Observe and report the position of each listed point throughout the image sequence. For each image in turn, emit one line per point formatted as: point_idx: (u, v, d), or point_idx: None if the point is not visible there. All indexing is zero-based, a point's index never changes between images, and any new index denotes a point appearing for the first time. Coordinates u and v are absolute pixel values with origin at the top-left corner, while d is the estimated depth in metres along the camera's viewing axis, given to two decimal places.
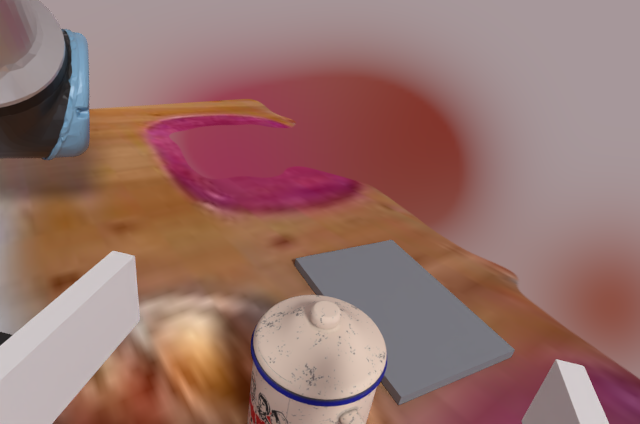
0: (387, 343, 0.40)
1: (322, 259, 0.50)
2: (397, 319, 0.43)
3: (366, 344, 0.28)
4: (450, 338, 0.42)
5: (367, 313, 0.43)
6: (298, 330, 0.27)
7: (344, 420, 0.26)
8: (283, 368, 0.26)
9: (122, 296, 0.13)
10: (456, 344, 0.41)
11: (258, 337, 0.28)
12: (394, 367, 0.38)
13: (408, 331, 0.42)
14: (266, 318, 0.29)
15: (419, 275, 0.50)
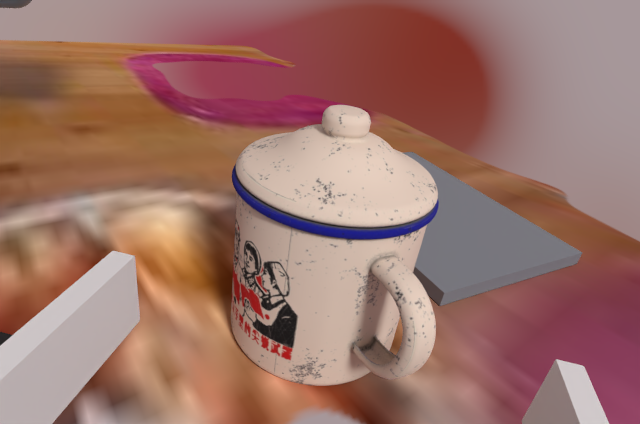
0: None
1: None
2: None
3: (408, 169, 0.18)
4: (498, 238, 0.32)
5: None
6: (304, 140, 0.17)
7: (379, 267, 0.16)
8: (281, 184, 0.16)
9: (122, 296, 0.13)
10: (507, 244, 0.32)
11: (243, 158, 0.18)
12: (430, 263, 0.28)
13: (444, 230, 0.32)
14: (256, 143, 0.19)
15: (449, 182, 0.41)
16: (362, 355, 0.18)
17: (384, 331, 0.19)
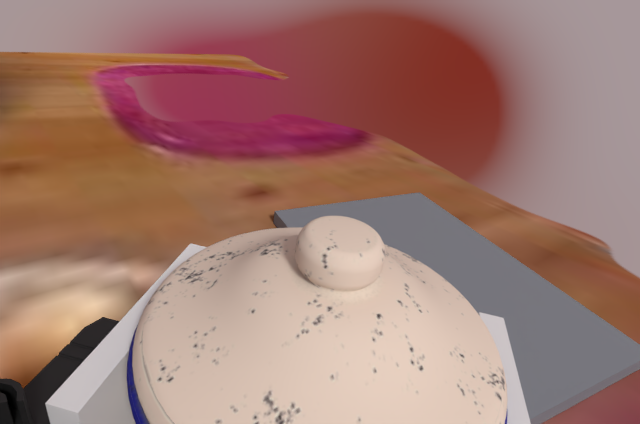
0: None
1: (316, 213, 0.33)
2: None
3: (453, 343, 0.10)
4: (537, 333, 0.24)
5: None
6: (258, 290, 0.09)
7: None
8: (193, 401, 0.08)
9: None
10: (551, 344, 0.23)
11: (153, 306, 0.10)
12: None
13: None
14: (191, 263, 0.11)
15: (466, 238, 0.32)
16: None
17: None
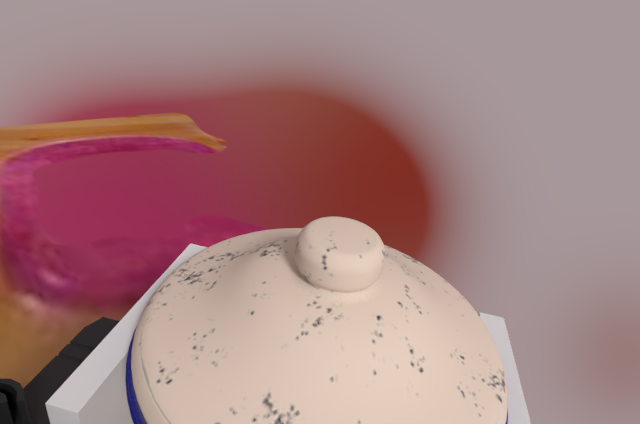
0: None
1: None
2: None
3: (453, 345, 0.10)
4: None
5: None
6: (257, 292, 0.09)
7: None
8: (191, 404, 0.08)
9: None
10: None
11: (152, 307, 0.10)
12: None
13: None
14: (190, 264, 0.11)
15: None
16: None
17: None
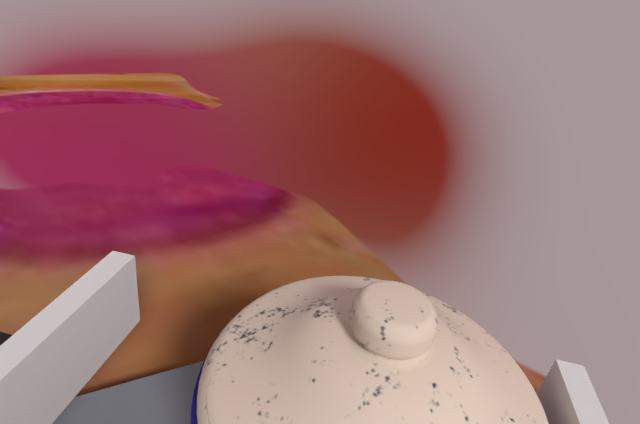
0: None
1: (112, 406, 0.19)
2: None
3: (502, 407, 0.10)
4: None
5: None
6: (316, 358, 0.10)
7: None
8: None
9: (122, 296, 0.13)
10: None
11: (212, 368, 0.11)
12: None
13: None
14: (243, 320, 0.12)
15: None
16: None
17: None
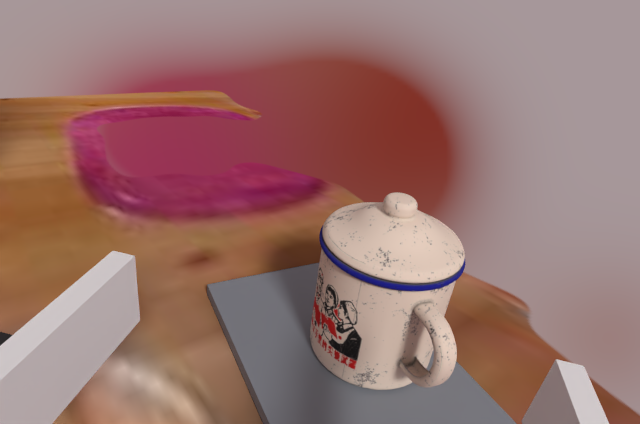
0: None
1: (247, 285, 0.35)
2: (342, 383, 0.28)
3: (443, 240, 0.26)
4: (423, 415, 0.26)
5: (296, 373, 0.28)
6: (371, 218, 0.25)
7: (419, 310, 0.24)
8: (355, 250, 0.24)
9: (122, 296, 0.13)
10: None
11: (328, 227, 0.26)
12: None
13: (357, 405, 0.26)
14: (335, 214, 0.28)
15: None
16: (406, 369, 0.25)
17: (422, 353, 0.27)
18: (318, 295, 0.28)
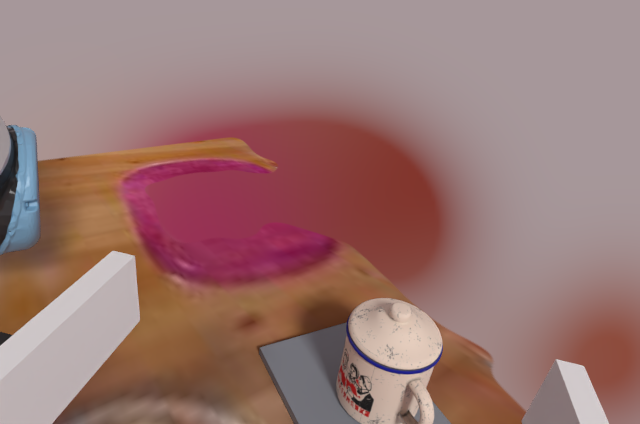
0: None
1: (287, 347, 0.49)
2: None
3: (428, 335, 0.39)
4: None
5: (328, 418, 0.41)
6: (381, 322, 0.39)
7: (411, 385, 0.37)
8: (371, 346, 0.38)
9: (122, 296, 0.13)
10: None
11: (352, 324, 0.40)
12: None
13: None
14: (356, 312, 0.41)
15: None
16: (402, 419, 0.39)
17: (413, 407, 0.40)
18: (344, 366, 0.41)
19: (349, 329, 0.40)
